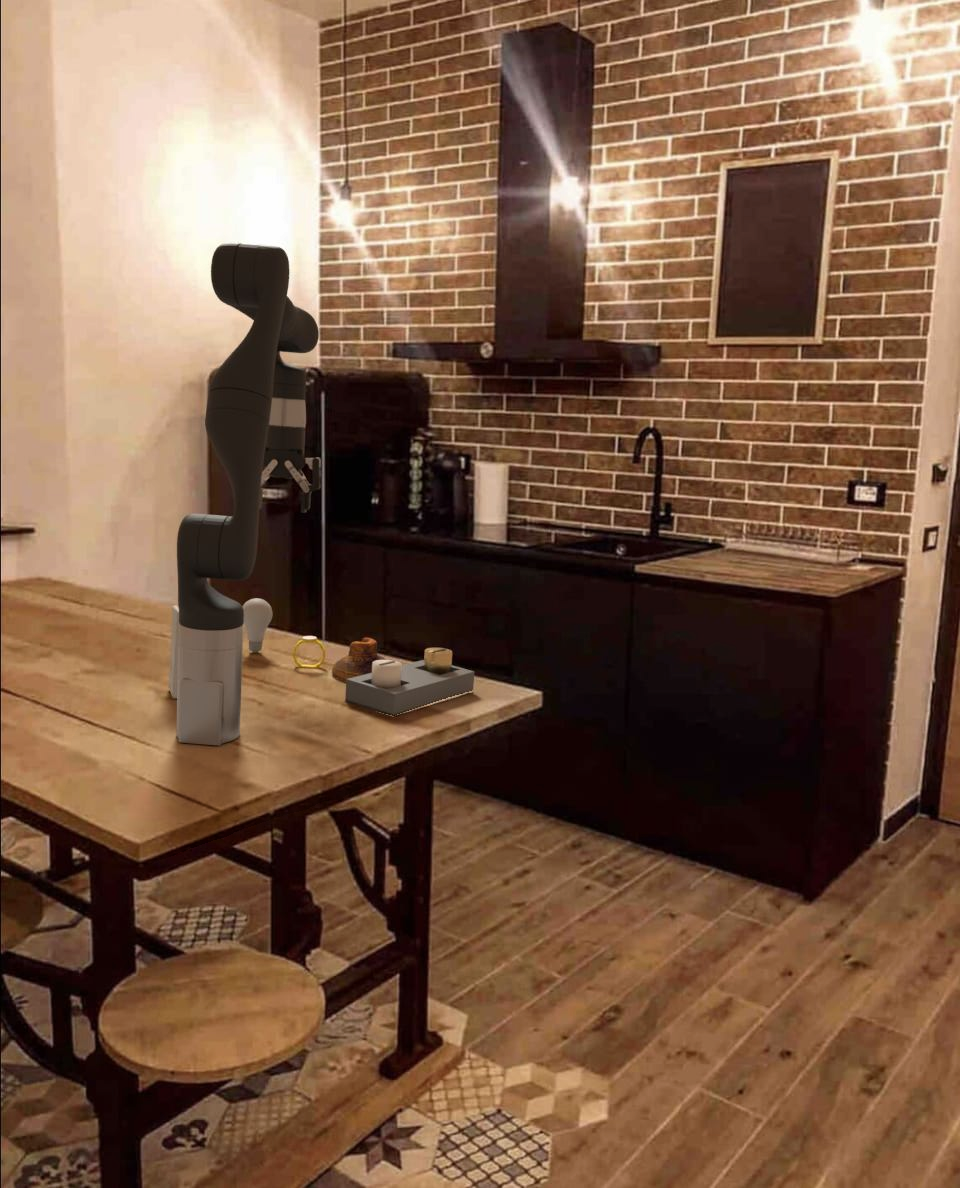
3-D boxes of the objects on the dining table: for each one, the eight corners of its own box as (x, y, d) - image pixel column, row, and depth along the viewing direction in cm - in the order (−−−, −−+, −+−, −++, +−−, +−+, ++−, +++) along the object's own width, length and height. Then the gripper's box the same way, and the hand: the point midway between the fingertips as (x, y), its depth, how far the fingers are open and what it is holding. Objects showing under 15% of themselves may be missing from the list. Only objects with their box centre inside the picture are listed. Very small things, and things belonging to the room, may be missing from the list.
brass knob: (439, 677, 181) (440, 655, 180) (417, 671, 183) (419, 649, 183) (456, 672, 185) (457, 651, 184) (435, 667, 187) (436, 645, 187)
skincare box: (172, 699, 167) (174, 612, 164) (168, 689, 173) (169, 604, 170) (223, 697, 171) (226, 611, 168) (218, 687, 176) (220, 603, 173)
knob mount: (393, 717, 167) (394, 693, 166) (345, 701, 173) (346, 679, 173) (472, 692, 185) (474, 671, 184) (426, 679, 191) (428, 658, 190)
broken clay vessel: (356, 689, 182) (358, 650, 180) (319, 673, 190) (321, 635, 189) (407, 681, 190) (410, 643, 188) (369, 665, 198) (371, 629, 197)
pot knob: (386, 692, 169) (388, 668, 169) (365, 685, 172) (366, 661, 171) (406, 686, 173) (407, 663, 173) (384, 680, 176) (386, 657, 175)
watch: (293, 669, 191) (292, 639, 190) (294, 666, 194) (293, 635, 193) (325, 669, 192) (324, 638, 191) (325, 665, 195) (324, 635, 194)
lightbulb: (267, 657, 197) (269, 602, 195) (236, 655, 197) (237, 600, 195) (273, 650, 203) (276, 596, 201) (243, 647, 203) (245, 594, 201)
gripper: (241, 420, 184) (238, 509, 187) (319, 427, 184) (315, 515, 187) (251, 420, 191) (248, 505, 194) (326, 426, 191) (322, 511, 194)
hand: (281, 510), depth 190 cm, fingers open, 8 cm apart
